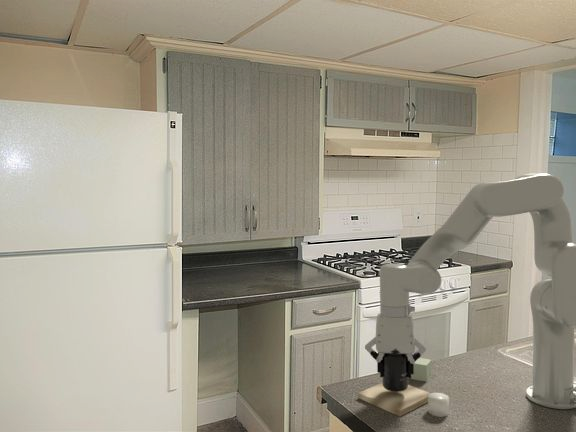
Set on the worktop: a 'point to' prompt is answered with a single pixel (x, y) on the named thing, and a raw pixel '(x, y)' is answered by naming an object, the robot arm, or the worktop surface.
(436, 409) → the white rounded lump
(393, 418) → the worktop surface
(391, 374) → the supplement bottle
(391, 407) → the birch board
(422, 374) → the sage block
